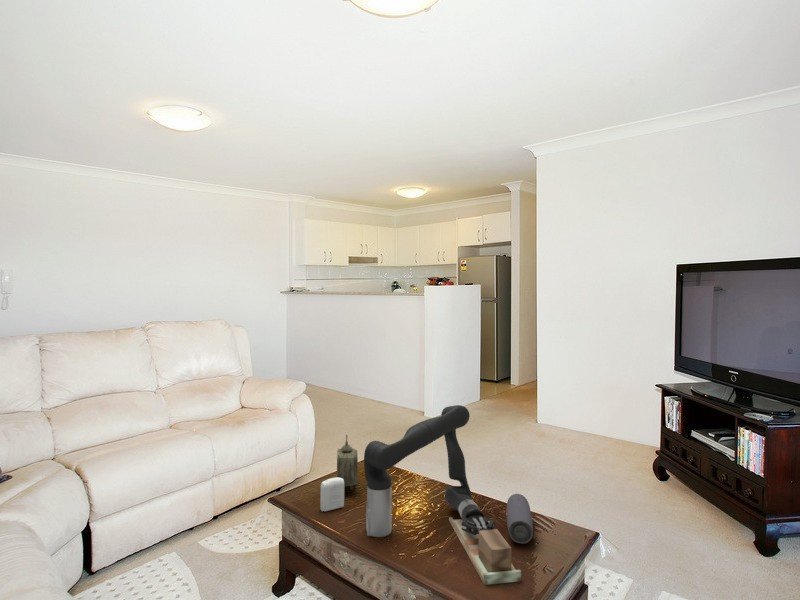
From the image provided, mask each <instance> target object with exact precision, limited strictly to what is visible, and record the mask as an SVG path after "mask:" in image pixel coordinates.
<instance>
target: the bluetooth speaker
mask: <svg viewBox="0 0 800 600" xmlns="http://www.w3.org/2000/svg"><path fill="white" fill-rule="evenodd" d="M505 515H506V524H507V530H508V534H509V537H510V538H511V540H512V541H513V542H515V543H517V544H527V543H529V542H530V541H531V540H532V539H533V535H534V524H533V516H532V511H531V507H530V504H529V501H528V498H526V496H524V495H522V494H520V493H514V494H512V495H510V496H509V497H508V499H507V502H506V513H505Z"/></svg>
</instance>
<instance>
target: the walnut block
mask: <svg viewBox="0 0 800 600" xmlns="http://www.w3.org/2000/svg"><path fill="white" fill-rule="evenodd" d="M479 559H480V560H481V562H482V564H483V565H484V567H485V569H486V570H487V572H488V573H491V572H501V571H511V563H512V547H511V545H510V544H509V543H508V542H507V540H506V538H504V536H503V535H502V534H501V532H500V531H499V529H498V528H494V529H493V530H482V531H479Z"/></svg>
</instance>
